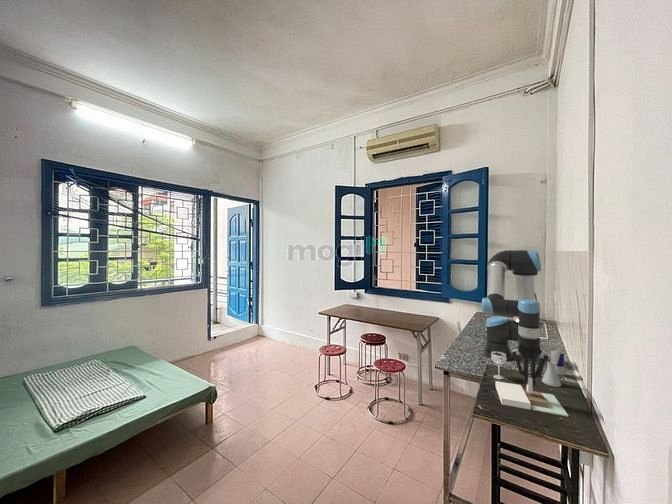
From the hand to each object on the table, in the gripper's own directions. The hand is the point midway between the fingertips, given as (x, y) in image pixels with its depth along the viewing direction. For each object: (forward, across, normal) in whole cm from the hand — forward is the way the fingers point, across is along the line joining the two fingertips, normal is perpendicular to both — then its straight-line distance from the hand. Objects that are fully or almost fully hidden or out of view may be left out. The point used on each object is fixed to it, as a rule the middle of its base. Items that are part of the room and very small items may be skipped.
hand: (529, 391), depth 113 cm
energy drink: (+4, +20, +33) cm, 39 cm away
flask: (+4, +14, +21) cm, 25 cm away
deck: (+4, -6, 0) cm, 7 cm away
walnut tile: (+3, +2, 0) cm, 4 cm away
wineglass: (+4, -8, +19) cm, 21 cm away
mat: (+4, +5, 0) cm, 6 cm away
